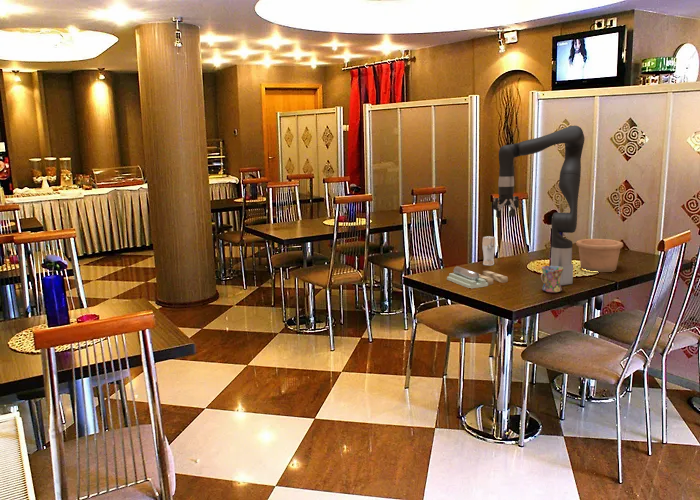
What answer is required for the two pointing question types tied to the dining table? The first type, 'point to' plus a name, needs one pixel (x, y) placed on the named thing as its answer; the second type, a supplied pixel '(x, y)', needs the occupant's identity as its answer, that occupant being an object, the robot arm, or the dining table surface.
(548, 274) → the mug
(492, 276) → the wooden blocks
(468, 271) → the axle
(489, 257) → the beer glass
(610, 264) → the pottery
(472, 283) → the grooved block
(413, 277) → the dining table surface
